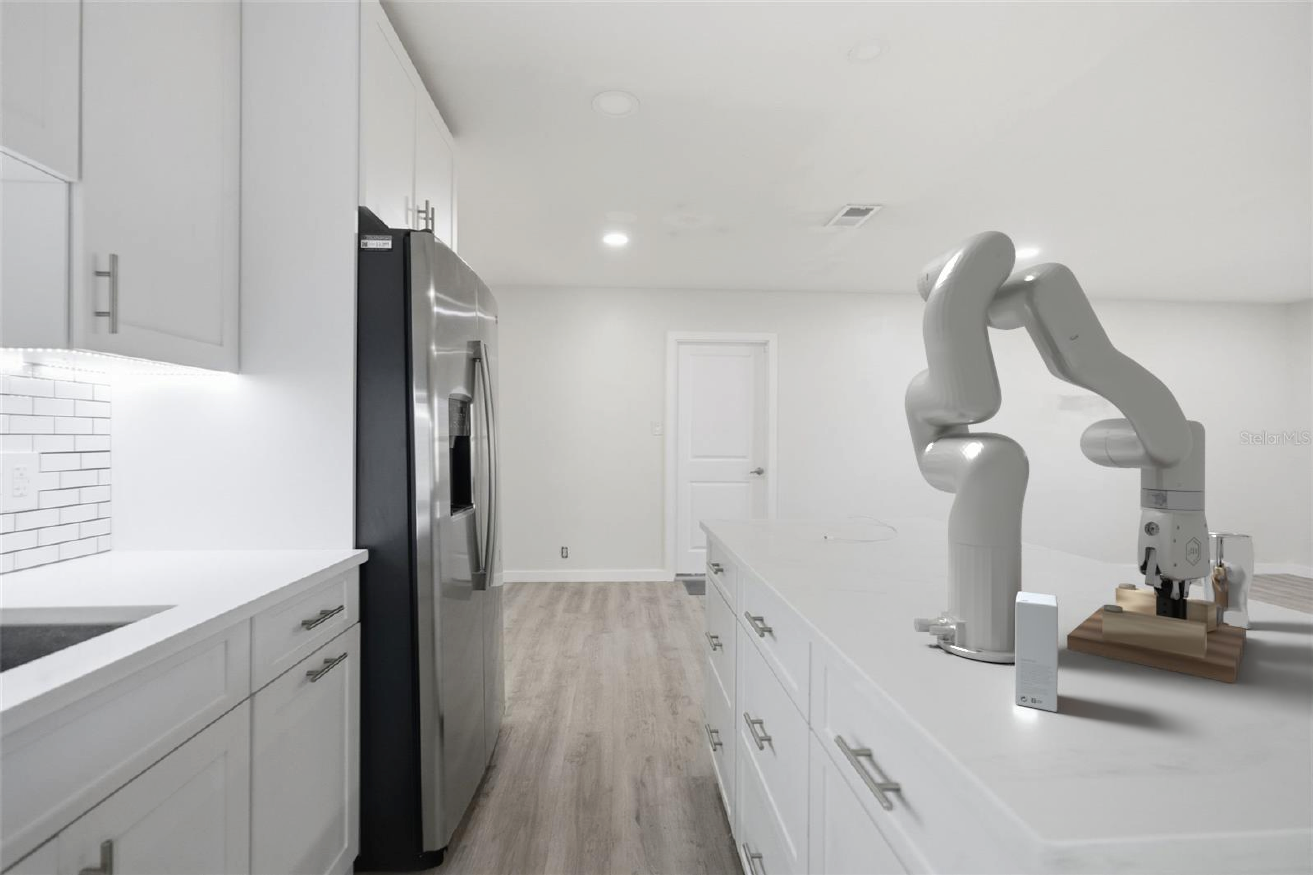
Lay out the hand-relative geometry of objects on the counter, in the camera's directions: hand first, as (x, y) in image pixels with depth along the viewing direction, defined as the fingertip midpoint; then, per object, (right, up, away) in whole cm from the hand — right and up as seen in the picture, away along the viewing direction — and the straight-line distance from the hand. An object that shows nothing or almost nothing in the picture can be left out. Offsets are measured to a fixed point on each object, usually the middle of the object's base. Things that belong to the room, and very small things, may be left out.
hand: (1171, 623), depth 94 cm
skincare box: (-33, -3, -21) cm, 39 cm away
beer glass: (+17, -3, +10) cm, 20 cm away
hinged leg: (+2, -1, +4) cm, 5 cm away
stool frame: (-3, -3, -1) cm, 4 cm away
